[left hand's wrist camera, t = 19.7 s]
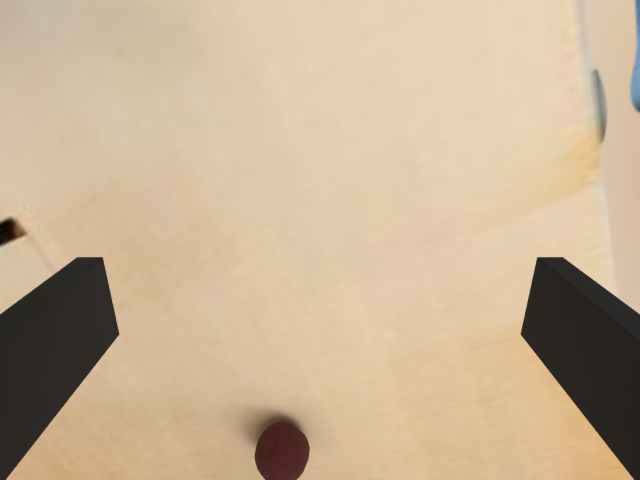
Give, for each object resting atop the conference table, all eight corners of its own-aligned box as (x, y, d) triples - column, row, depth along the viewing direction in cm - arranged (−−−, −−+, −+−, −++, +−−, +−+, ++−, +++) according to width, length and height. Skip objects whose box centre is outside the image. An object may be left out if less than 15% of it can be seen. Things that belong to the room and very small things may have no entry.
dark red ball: (271, 456, 61) (265, 502, 54) (250, 419, 58) (241, 462, 51) (317, 444, 60) (317, 489, 53) (298, 405, 57) (295, 448, 50)
